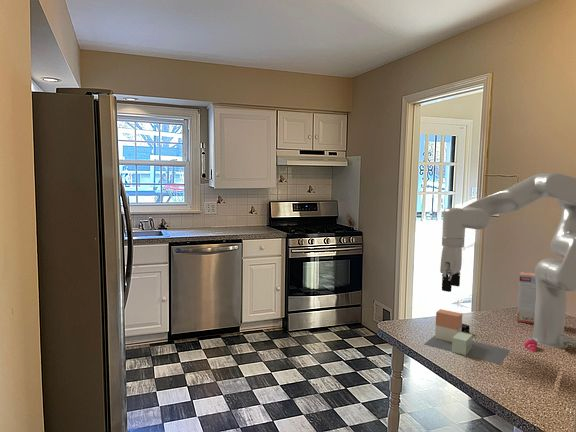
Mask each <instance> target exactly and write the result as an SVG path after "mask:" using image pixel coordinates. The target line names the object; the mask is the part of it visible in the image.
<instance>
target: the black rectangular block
mask: <svg viewBox="0 0 576 432" xmlns="http://www.w3.org/2000/svg"><path fill="white" fill-rule="evenodd" d="M461 332H465V333H469V334H470V332H471V331H470V325H468V324H465V323H463V322H462V331H461Z"/></svg>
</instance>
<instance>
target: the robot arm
mask: <svg viewBox="0 0 576 432" xmlns="http://www.w3.org/2000/svg"><path fill="white" fill-rule="evenodd" d="M543 198H553V199H555V200H556V201H557V203H558V205H559V207H560V210H561V217H560V220H559V223H558V225H557V227H556V229H555V232H554V234H553V237H552V239H551V242H550V245H549V247H550V251H551V253H553V254H555V255H556V256H557V257H558V256H559V257H561V258H562V260H560V259H557V258H552V257H547V258H543V259H542V260H541V259H540V261H538V263H537V264H536V265H535V268H534V273H535V279H536V303H535V317H534V324H533V330H532V331H533V332H532V334H530V335H528V338H527V340H528V339H533V340H535V341H537V344H538V345H540V346H545V347H549V348H550V347H551V348H556V349H557V348H559V349H561V348H562V349H563V348H564V349H568V348H569V344H570V345H573V346H576V338H575V337H571V336H568V335H566V331H565V324H566V323H565V321H566V311H567V309H566V308H567V300H568V299H567V292H576V177H574V176H569V175H565V174H562V173H558V172H542V173H541V172H540V173H537V174H533V175H532V176H530V177H527V178H526V179H524V180H522V181H520V182H518V183H516V184H514V185H512V186H510V187H507V188H506V189H503V190H500V191H497V192H495V193H493V194H490V195H488V196H485V197H482V198H480V199H478V200H475V201H473V202H472V203H469V204H467V205H466V206H463V207H462V208H459V207H447V208H445V209H444V210H443V215H442V234H441V236H442V238H441V246H442V250H441V257H440V266H439V267H440V268H439V272H440V273H441V291H443V292H446V293H447V292H449V293H451V292H452V286H453V287H457V288H458V287H460V285H461V270H462V264H463V263H462V262H463V260H462V259H463V258H462V257H463V250H462V248H465V237H466V235H465V234H466V229H472V230H477V231H478V230H484V229H486V228H487V227H489V226H490V224H491V222H492V216H494V215H498V214H507V213H513V212H516V211H520V210H521V209H524V208H525V207H527V206H529V205H532V204H533V203H535V202H537V201H539V200H541V199H543Z"/></svg>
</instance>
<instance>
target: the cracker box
mask: <svg viewBox="0 0 576 432" xmlns="http://www.w3.org/2000/svg"><path fill="white" fill-rule="evenodd" d="M518 282H519V284H518V297H517V298H518V299H517V311H516V312H517V313H516V314H517V315H516V321H517V323H518V322H519V323H527V324H532V325H534V317H535V303H536V279H535V272H526V271H520V273H519V281H518Z"/></svg>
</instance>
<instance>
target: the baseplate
mask: <svg viewBox="0 0 576 432" xmlns="http://www.w3.org/2000/svg"><path fill="white" fill-rule="evenodd" d="M423 345H424V346H426V347H427V346H428V347H431V348H436V349H439V350H443V351H447V352H451V353H453V352H452V342H449V341H445V340H441V339H437V338H435V335H433V336H432V337H431V338H429V340H427V341H426V342H425V343H424V344H423ZM510 351H511V350H510V349H508V348H504V347H498V346H495V345H491V344H486V343H482V342H478V341H474V340H472V349H471V350H470V351H469V352H468V353H467V354H466V355H464V356H465V357H470V358H474V359H477V360H481V361H484V362H487V363H493V364H496V365H502V363H503V362H504V360H505V358H506V357H507V355H509V353H510ZM460 355H462V354H460ZM462 356H463V355H462Z"/></svg>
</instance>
